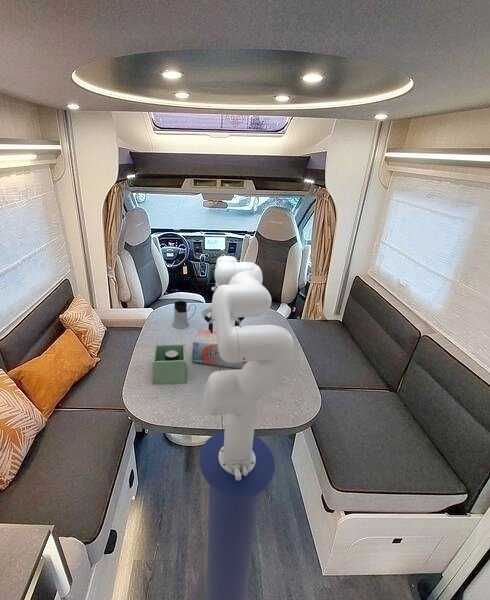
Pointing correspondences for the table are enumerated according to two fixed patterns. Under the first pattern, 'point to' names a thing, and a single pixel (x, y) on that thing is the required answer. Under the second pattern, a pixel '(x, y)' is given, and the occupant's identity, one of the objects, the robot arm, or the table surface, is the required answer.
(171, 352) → the beverage can
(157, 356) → the trash bin
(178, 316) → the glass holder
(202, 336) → the soda box
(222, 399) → the robot arm
